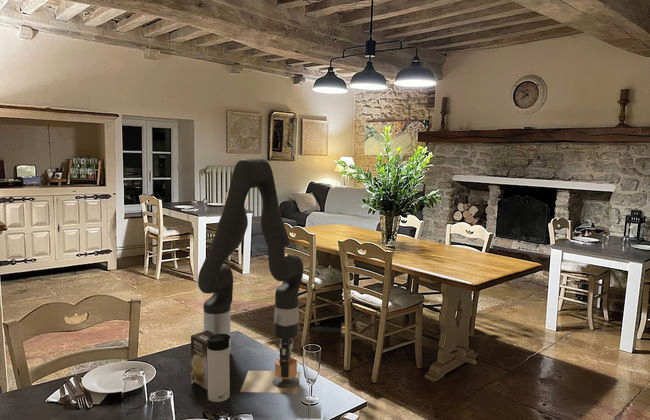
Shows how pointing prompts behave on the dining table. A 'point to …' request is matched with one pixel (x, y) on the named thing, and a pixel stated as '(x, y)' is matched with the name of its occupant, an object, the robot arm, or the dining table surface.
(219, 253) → the robot arm
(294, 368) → the ring
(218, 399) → the travel mug
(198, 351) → the coffee box
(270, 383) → the post board
